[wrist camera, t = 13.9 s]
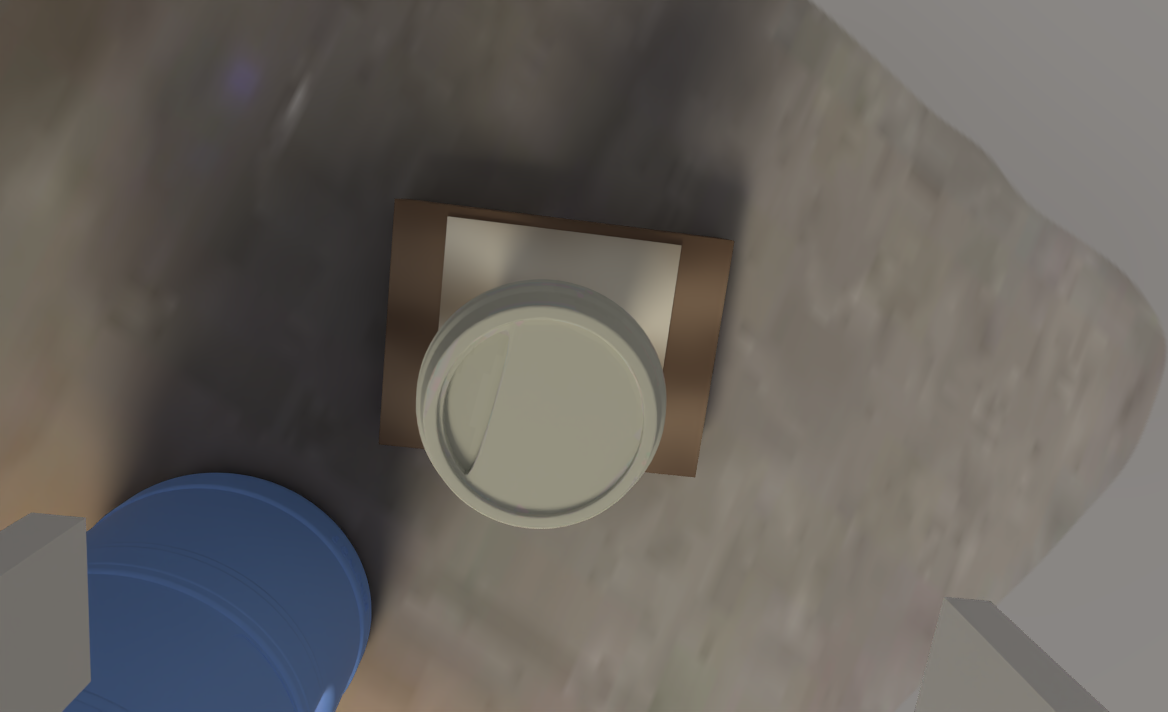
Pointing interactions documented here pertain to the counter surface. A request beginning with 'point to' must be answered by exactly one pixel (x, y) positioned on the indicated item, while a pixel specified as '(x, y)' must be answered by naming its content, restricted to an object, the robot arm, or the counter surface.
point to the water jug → (222, 601)
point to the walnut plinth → (566, 253)
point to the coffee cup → (541, 403)
